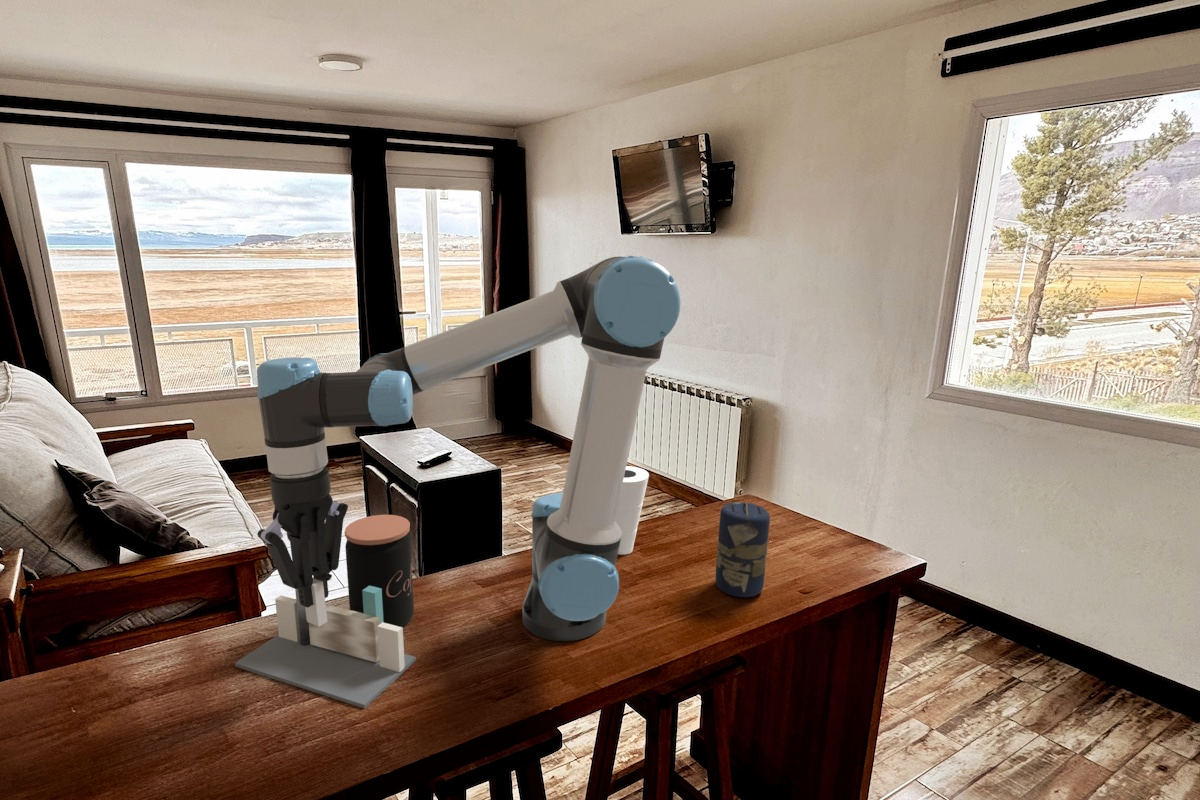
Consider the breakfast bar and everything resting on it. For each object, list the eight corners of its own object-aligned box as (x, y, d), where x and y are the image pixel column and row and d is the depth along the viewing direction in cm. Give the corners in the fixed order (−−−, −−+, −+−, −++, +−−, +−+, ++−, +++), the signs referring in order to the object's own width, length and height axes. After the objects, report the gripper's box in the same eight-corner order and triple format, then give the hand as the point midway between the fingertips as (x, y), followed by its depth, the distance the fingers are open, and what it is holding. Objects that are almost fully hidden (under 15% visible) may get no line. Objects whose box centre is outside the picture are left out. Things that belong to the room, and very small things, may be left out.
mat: (416, 660, 102) (416, 656, 102) (364, 708, 91) (364, 704, 91) (295, 626, 110) (295, 623, 110) (235, 666, 99) (234, 663, 99)
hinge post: (316, 643, 105) (310, 577, 103) (307, 650, 104) (301, 583, 101) (307, 640, 106) (301, 575, 103) (297, 647, 104) (291, 580, 102)
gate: (310, 644, 104) (307, 605, 102) (317, 639, 105) (314, 601, 103) (376, 662, 99) (373, 622, 98) (382, 657, 101) (380, 617, 99)
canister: (709, 594, 124) (715, 508, 120) (719, 573, 133) (725, 492, 129) (759, 605, 120) (767, 517, 117) (766, 582, 129) (774, 499, 125)
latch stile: (385, 655, 103) (381, 588, 100) (378, 661, 101) (374, 593, 99) (373, 652, 104) (369, 585, 101) (366, 657, 102) (362, 590, 99)
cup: (646, 561, 137) (650, 482, 133) (597, 560, 137) (599, 481, 133) (644, 540, 147) (647, 466, 143) (598, 538, 147) (600, 465, 143)
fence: (404, 667, 99) (402, 627, 97) (399, 672, 98) (397, 631, 96) (284, 632, 107) (281, 595, 106) (278, 636, 106) (275, 598, 104)
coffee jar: (395, 642, 106) (390, 543, 102) (338, 633, 108) (330, 536, 104) (424, 609, 116) (421, 517, 112) (372, 601, 119) (366, 511, 115)
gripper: (322, 453, 95) (338, 594, 101) (237, 479, 84) (259, 636, 90) (356, 460, 92) (370, 607, 97) (271, 489, 81) (292, 653, 86)
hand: (317, 621), depth 93 cm, fingers closed
